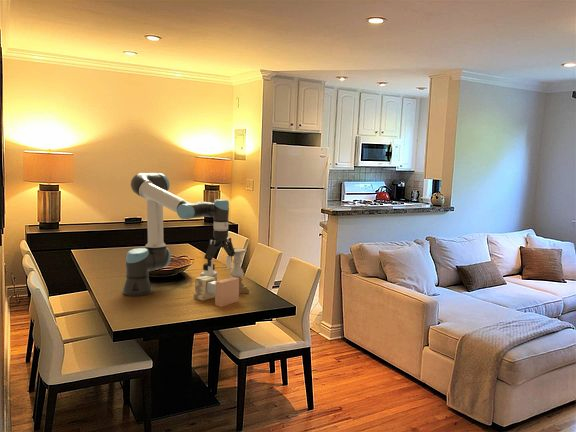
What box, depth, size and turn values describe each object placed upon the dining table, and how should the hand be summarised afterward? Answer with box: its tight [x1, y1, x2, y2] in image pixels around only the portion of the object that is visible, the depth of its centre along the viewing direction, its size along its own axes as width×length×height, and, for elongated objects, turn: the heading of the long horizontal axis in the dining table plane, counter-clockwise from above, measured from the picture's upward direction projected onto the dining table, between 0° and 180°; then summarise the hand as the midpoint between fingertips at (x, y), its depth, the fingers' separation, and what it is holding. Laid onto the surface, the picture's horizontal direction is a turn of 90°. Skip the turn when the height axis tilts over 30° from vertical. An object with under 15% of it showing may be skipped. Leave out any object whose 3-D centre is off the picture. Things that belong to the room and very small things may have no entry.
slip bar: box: [206, 280, 216, 294], centre depth 257 cm, size 15×5×5 cm, turn 54°
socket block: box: [214, 276, 240, 308], centre depth 253 cm, size 4×13×12 cm, turn 144°
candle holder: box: [229, 247, 250, 295], centre depth 275 cm, size 11×11×24 cm
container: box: [199, 262, 218, 281], centre depth 287 cm, size 8×8×13 cm
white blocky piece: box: [193, 276, 215, 301], centre depth 263 cm, size 7×10×11 cm
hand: (219, 270), depth 255 cm, fingers open, 13 cm apart
